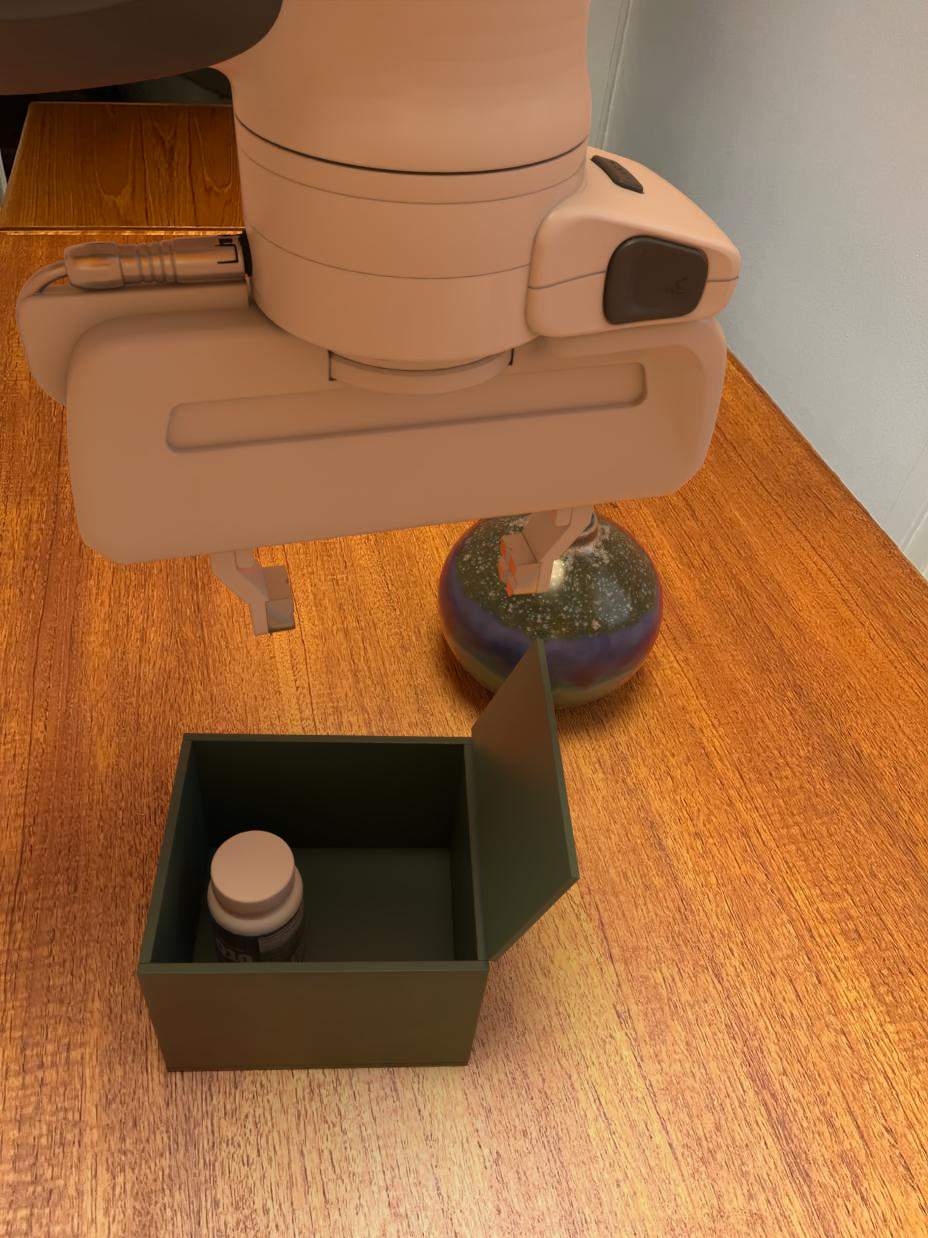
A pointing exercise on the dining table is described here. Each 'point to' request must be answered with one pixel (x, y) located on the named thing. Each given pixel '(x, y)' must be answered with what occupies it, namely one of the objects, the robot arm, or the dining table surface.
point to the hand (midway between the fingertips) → (401, 602)
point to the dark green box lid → (521, 805)
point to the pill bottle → (256, 900)
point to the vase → (553, 610)
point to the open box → (324, 905)
